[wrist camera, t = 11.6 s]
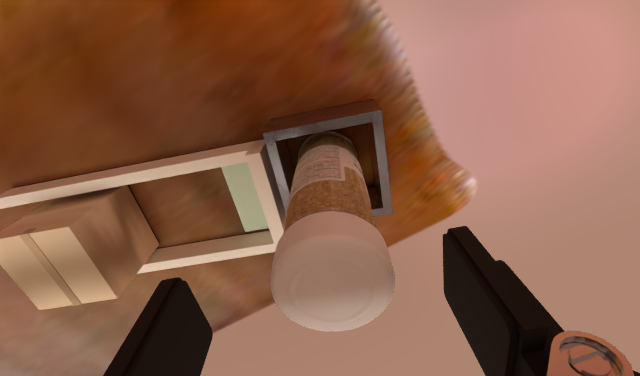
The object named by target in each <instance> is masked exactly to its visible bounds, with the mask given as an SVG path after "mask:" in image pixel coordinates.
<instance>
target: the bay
mask: <svg viewBox="0 0 640 376" xmlns="http://www.w3.org/2000/svg"><path fill="white" fill-rule="evenodd" d="M219 167H221V168H222V171H223V174H224V176H225V179H226V182H227V184H228V187H229V190H230V192H231V195H232V198H233V200H234V203H235V206H236V208H237V211H238V214H239V216H240V219H241V222H242V224H243V227H244V230H245V232H248V231H254V230H260V229H266V228H269V231H263V232H257V233H251V234H245V235H239V236H233V237H226V238H220V239H214V240H208V241H202V242H196V243H190V244H184V245H178V246H172V247H166V248H160V249H156V250H155V251H154V252H153V253H152V255H151V256H150V257H149V259H148V260H147V261H146V262H145V264H144V265H143V266H142V267H141V269H140V270H139V271H138V273H145V272H151V271H157V270H163V269H170V268H176V267H182V266H189V265H195V264H201V263H207V262H214V261H220V260H226V259H233V258H239V257H245V256H252V255H258V254H264V253H270V252H275V251H276V247H277V244H278V241H279V240H280V238H281V236H282V235H283V233H284V228H285V224H286V217H287V215H286V212H285V208H284V205H283V202H282V198H281V195H280V191H279V188H278V185H277V181H276V178H275V174H274V171H273V168H272V164H271V161H270V157H269V154H268V150H267V147H266V144H265V140H264V139H263V140H257V141H252V142H247V143H242V144H237V145H232V146H227V147H222V148H217V149H211V150H206V151H201V152H196V153H191V154H186V155H181V156H176V157H171V158H165V159H160V160H155V161H150V162H145V163H140V164H135V165H130V166H125V167H119V168H114V169H109V170H104V171H99V172H94V173H89V174H84V175H79V176H74V177H68V178H63V179H58V180H53V181H48V182H43V183H38V184H33V185H28V186H22V187H17V188H12V189H10V190H8V191H6V192H4V193H2V194H0V209H2V208H7V207H13V206H18V205H23V204H28V203H34V202H39V201H44V200H50V199H55V198H60V197H65V196H71V195H76V194H81V193H87V192H92V191H97V190H102V189H108V188H113V187H118V186H124V185H129V184H134V183H139V182H145V181H150V180H155V179H160V178H166V177H171V176H176V175H182V174H187V173H192V172H197V171H203V170H208V169H213V168H219ZM138 273H137V274H138Z"/></svg>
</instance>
